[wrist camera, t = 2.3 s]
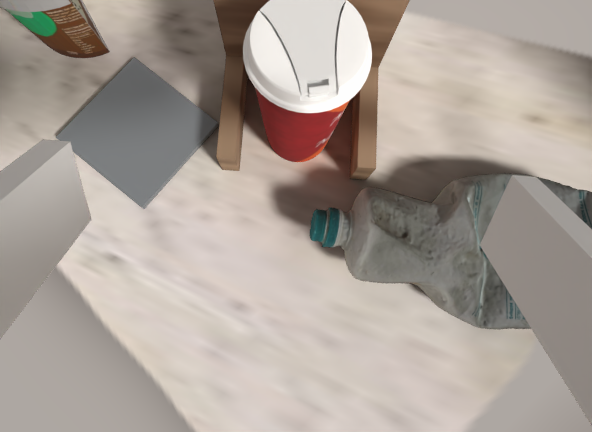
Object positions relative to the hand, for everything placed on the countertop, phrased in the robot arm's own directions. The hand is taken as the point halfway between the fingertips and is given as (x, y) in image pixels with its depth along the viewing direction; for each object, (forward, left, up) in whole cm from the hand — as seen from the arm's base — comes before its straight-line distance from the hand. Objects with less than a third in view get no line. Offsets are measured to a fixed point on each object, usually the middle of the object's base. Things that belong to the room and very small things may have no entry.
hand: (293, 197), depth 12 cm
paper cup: (+6, -9, -22) cm, 25 cm away
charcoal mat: (+17, 0, -22) cm, 28 cm away
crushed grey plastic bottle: (-11, -9, -22) cm, 27 cm away
